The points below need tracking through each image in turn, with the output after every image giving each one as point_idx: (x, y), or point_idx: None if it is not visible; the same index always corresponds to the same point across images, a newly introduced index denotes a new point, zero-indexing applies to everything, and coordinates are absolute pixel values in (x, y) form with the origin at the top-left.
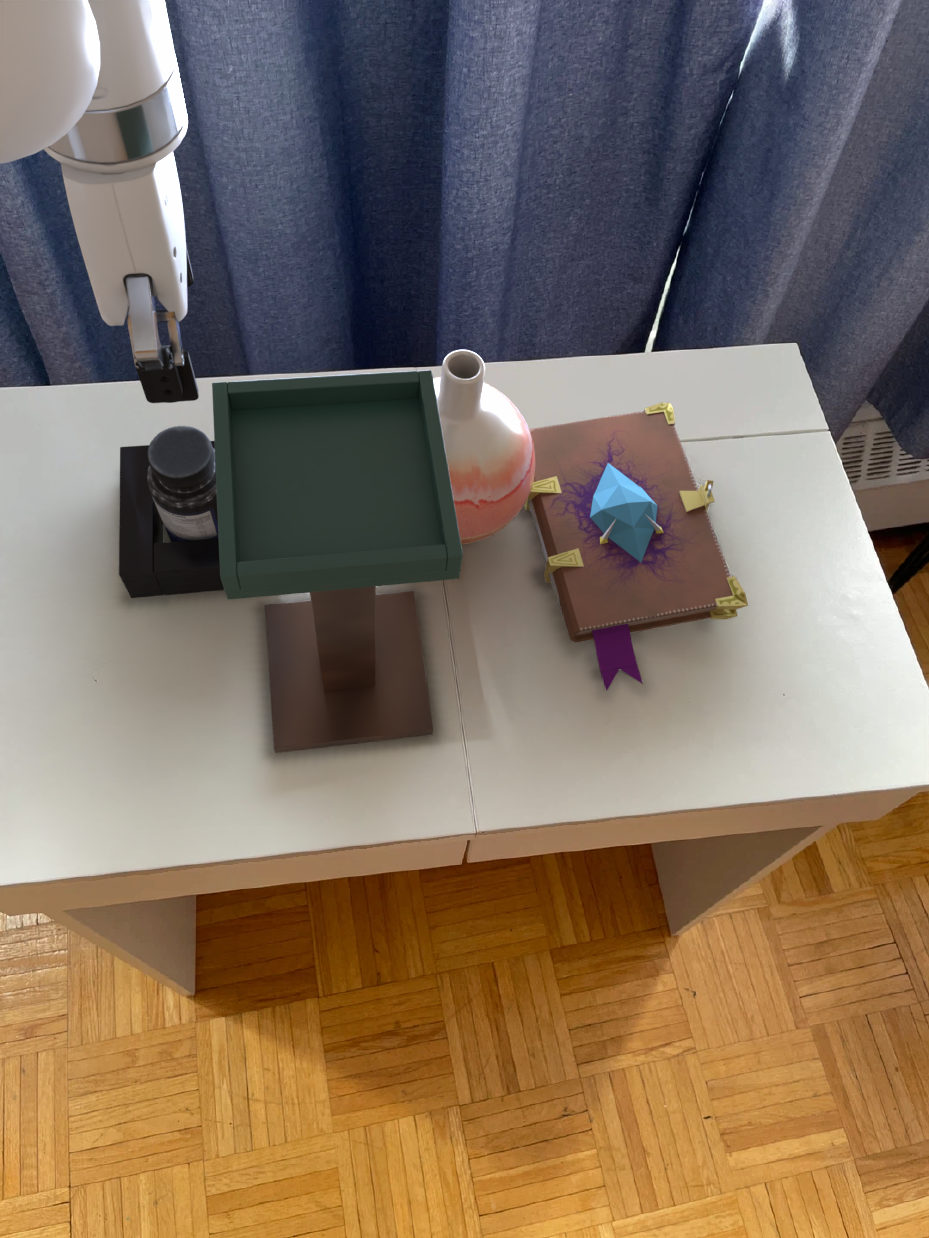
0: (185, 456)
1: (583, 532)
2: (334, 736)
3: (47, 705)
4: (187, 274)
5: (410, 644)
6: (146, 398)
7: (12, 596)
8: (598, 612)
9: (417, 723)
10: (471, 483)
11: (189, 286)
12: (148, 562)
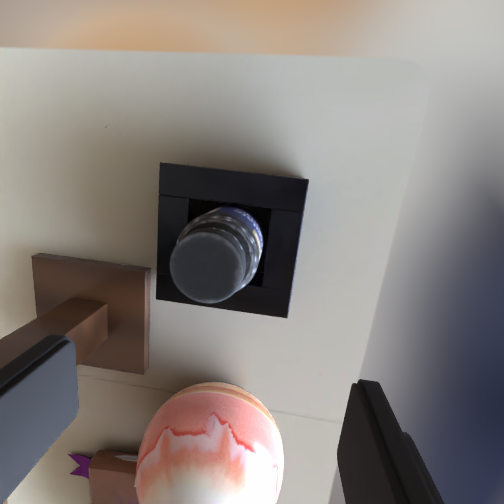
0: (197, 273)
1: None
2: (37, 297)
3: (87, 83)
4: (344, 484)
5: (101, 361)
6: (46, 337)
7: (194, 54)
8: (99, 482)
9: None
10: (138, 500)
11: (337, 451)
12: (169, 191)
